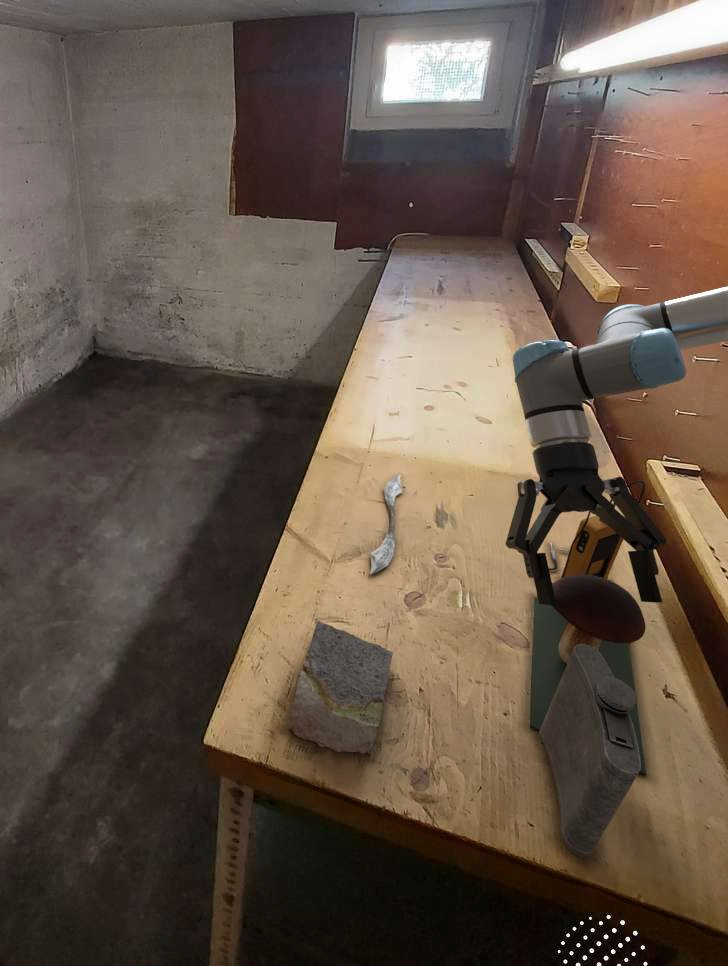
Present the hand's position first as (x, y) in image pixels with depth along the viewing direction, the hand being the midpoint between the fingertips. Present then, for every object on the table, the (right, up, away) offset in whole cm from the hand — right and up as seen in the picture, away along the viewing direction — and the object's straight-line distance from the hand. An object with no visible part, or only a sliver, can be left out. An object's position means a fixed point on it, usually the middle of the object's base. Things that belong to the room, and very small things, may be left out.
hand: (599, 603), depth 74 cm
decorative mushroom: (0, -11, +6) cm, 12 cm away
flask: (-10, -18, -9) cm, 23 cm away
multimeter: (+10, -2, +22) cm, 24 cm away
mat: (+1, -11, +4) cm, 12 cm away
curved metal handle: (-16, +3, +34) cm, 38 cm away
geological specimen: (-34, -14, +2) cm, 37 cm away
